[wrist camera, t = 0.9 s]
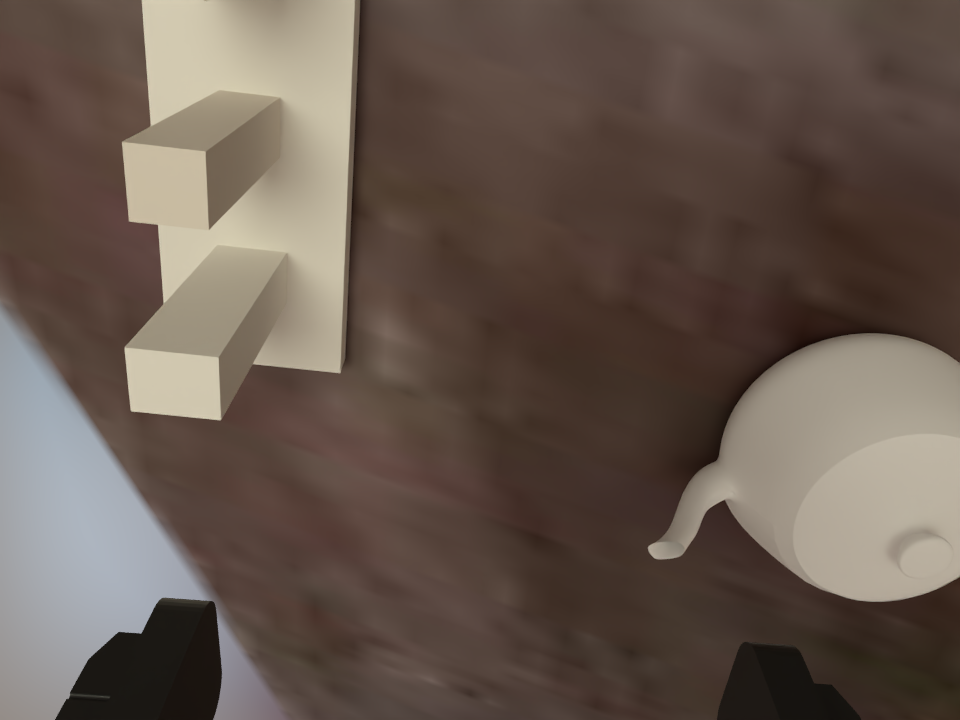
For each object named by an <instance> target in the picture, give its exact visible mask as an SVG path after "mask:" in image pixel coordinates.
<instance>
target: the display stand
mask: <svg viewBox="0 0 960 720" xmlns="http://www.w3.org/2000/svg"><path fill="white" fill-rule="evenodd" d="M142 9H143V23H144V37H145V50H146V64H147V78H148V92H149V106H150V119H151V127H149V128H147V129H145V130H143V131H142V132H140V133H138V134H136V135H134V136H132V137H130V138H128V139H127V140H125V141H123V142H122V147H123V158H124V169H125V180H126V191H127V202H128V214H129V221H130V222H139V223H148V224H157V225H158V230H159V244H160V257H161V271H162V285H163V299H164V304H163V306H162V307H161V308H160V309H159V310H158V311H157V312H156V313H155V314H154V316H153V317H152V318H151V319H150V320H149V321H148V322H147V323H146V324H145V325H144V327H143V328H142V329H141V330H140V331H139V332H138V333H137V334H136V335H135V337H134V338H133V339H132V340H131V341H130V342H129V343H128V344H127V345H126V346H125V357H126V367H127V377H128V387H129V397H130V407H131V411H134V412H144V413H154V414H164V415H174V416H184V417H194V418H204V419H214V420H221V419H222V418H223V416H224V414H225V412H226V410H227V409H228V407H229V405H230V403H231V402H232V400H233V398H234V396H235V394H236V393H237V391H238V389H239V387H240V386H241V384H242V382H243V380H244V378H245V377H246V375H247V373H248V371H249V370H250V368H251V366H252V364H257V365H267V366H277V367H286V368H296V369H305V370H315V371H325V372H334V373H340V372H341V369H342V366H343V363H344V361H345V351H346V328H347V304H348V281H349V257H350V233H351V210H352V186H353V163H354V139H355V116H356V92H357V69H358V45H359V21H360V0H142Z"/></svg>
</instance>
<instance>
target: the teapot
mask: <svg viewBox="0 0 960 720" xmlns="http://www.w3.org/2000/svg"><path fill="white" fill-rule="evenodd" d="M723 500H725V501H726V503H727V505H728V507H729V509H730V511H731V512H732V514H733V515H734V517H735V518H736V519H737V521H738V522H739V523H740V525H741V526H742V527H743V528H744V529H745V530H746V531H747V533H748V534H749V535H750V536H751V537H752V538H753V539H754V540H755V541H756V542H757V543H759V544H760V545H761V546H762V547H763V548H764V549H765V550H766V551H767V552H769V553H770V554H771V555H772V556H773V557H774V558H776V559H777V560H778V561H779V562H781V563H782V564H783V565H784V566H786V567H787V568H788V569H789V570H791V571H792V572H793V573H795V574H796V575H798V576H799V577H800V578H802V579H803V580H804V581H806V582H807V583H809V584H811V585H813V586H815V587H817V588H819V589H822V590H824V591H828V592H831V593H833V594H836V595H839V596H842V597H845V598H849V599H854V600H859V601H870V602H884V601H895V600H902V599H907V598H911V597H915V596H919V595H922V594H925V593H928V592H931V591H933V590H936V589H938V588H940V587H942V586H944V585H946V584H948V583H950V582H952V581H954V580H955V579H957V578H959V577H960V363H959V362H957V361H956V360H955V359H953V358H952V357H950V356H949V355H947V354H946V353H944V352H942V351H941V350H939V349H937V348H935V347H933V346H931V345H928V344H926V343H923V342H921V341H918V340H914V339H911V338H907V337H903V336H898V335H891V334H880V333H861V334H851V335H844V336H839V337H834V338H830V339H826V340H823V341H820V342H817V343H814V344H811V345H809V346H806V347H804V348H802V349H800V350H798V351H796V352H794V353H792V354H790V355H788V356H786V357H785V358H783V359H782V360H780V361H779V362H777V363H776V364H774V365H773V366H771V367H770V368H769V369H768V370H766V371H765V372H764V373H763V374H762V375H761V376H760V377H759V378H757V379H756V380H755V381H754V382H753V384H752V385H751V386H750V387H749V388H748V389H747V390H746V392H745V393H744V394H743V396H742V397H741V398H740V400H739V401H738V403H737V404H736V406H735V408H734V409H733V411H732V413H731V415H730V417H729V419H728V422H727V424H726V427H725V430H724V433H723V436H722V441H721V446H720V452H719V457H718V459H717V460H716V461H715V462H713V463H711V464H709V465H707V466H705V467H703V468H702V469H701V470H699V471H698V472H697V473H696V474H695V475H694V476H693V478H692V479H691V480H690V482H689V483H688V485H687V486H686V488H685V490H684V492H683V494H682V497H681V499H680V502H679V504H678V507H677V510H676V513H675V516H674V519H673V521H672V523H671V526H670V527H669V529H668V531H667V532H666V533H665V535H664V536H663V537H662V538H660V539H659V540H658V541H656V542H655V543H653V544H651V545H650V546H649V547H648V551H649V553H650V554H651V555H652V556H653V557H654V558H655V559H671V558H676V557H679V556H681V555H682V554H683V553H684V552H685V550H686V549H687V547H688V546H689V544H690V543H691V542H692V540H693V539H694V537H695V536H696V534H697V532H698V529H699V527H700V524H701V521H702V519H703V517H704V515H705V513H706V511H707V510H708V509H709V508H711V507H712V506H714V505H716V504H717V503H719V502H721V501H723Z"/></svg>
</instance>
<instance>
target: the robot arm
mask: <svg viewBox="0 0 960 720" xmlns="http://www.w3.org/2000/svg"><path fill="white" fill-rule="evenodd" d="M221 679H222V669H221V657H220V646H219V636H218V625H217V614H216V607H215V604H214V602H213V601H200V600H187V599H173V598H162V599H161V600H159V602H158V603H157V604H156V606H155V608H154V610H153V612H152V614H151V616H150V618H149V620H148V622H147V624H146V626H145V628H144V630H143V632H142V634H139V633H125V632H118V633H117V634H116V635H115V636H114V637H113V638H111V640H109V641H108V642H107V643H106V644H105V645H104V646H103V647H102V648H101V649H99V650H98V651H97V652H96V653H95V654H94V655H93V656H92V657H91V658H90V659H89V660H88V661H87V663H86V665H85V667H84V669H83V670H82V672H81V674H80V676H79V677H78V679H77V681H76V683H75V685H74V686H73V688H72V690H71V692H70V697H69V699H66V701H65V703H64V705H63V706H62V708H61V710H60V712H59V714H58V716H57V717H56V719H55V720H213V718H214V715H215V712H216V709H217V705H218V700H219V695H220V688H221ZM717 720H861V718H860V716H859V715H858V714H857V713H856V712H855V710H854V709H853V708H852V707H851V706H850V705H849V704H848V703H847V701H846V700H845V699H844V698H843V697H842V696H841V695H840V694H839V693H838V691H837V690H836V689H835V688H834V687H833V686H832V685H827V684H814V682H813V680H812V678H811V675H810V673H809V671H808V668H807V666H806V664H805V661H804V659H803V657H802V655H801V653H800V651H799V650H798V649H797V648H796V647H795V646H793V645H781V644H767V643H753V642H744V643H742V644H741V646H740V647H739V650H738V652H737V655H736V658H735V661H734V664H733V667H732V670H731V673H730V676H729V679H728V682H727V685H726V688H725V691H724V694H723V697H722V700H721V703H720V706H719V710H718V717H717Z"/></svg>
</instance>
